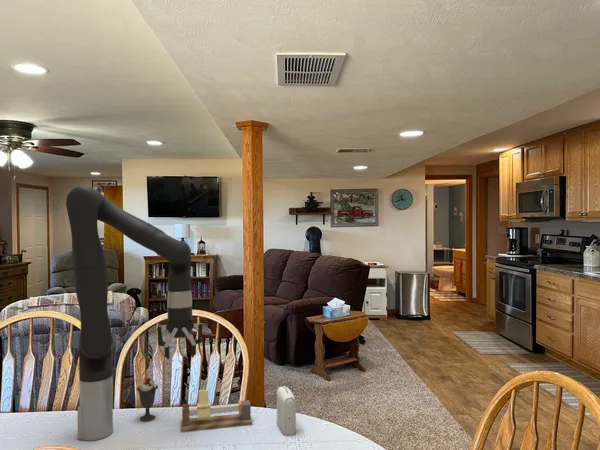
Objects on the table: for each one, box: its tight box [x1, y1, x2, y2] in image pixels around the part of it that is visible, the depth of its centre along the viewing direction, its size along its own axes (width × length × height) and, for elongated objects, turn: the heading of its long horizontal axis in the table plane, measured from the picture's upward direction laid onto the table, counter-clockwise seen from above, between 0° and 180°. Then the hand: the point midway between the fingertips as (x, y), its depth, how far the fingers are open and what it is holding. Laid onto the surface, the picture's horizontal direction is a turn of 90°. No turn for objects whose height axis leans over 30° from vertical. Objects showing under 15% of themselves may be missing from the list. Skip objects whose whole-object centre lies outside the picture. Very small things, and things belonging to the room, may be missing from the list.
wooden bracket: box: [180, 403, 253, 433], centre depth 142 cm, size 22×7×6 cm, turn 103°
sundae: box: [136, 374, 159, 422], centre depth 147 cm, size 7×7×15 cm
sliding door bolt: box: [189, 399, 252, 420], centre depth 142 cm, size 21×4×5 cm, turn 103°
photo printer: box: [276, 385, 297, 436], centre depth 138 cm, size 10×4×12 cm, turn 17°
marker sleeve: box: [196, 389, 211, 420], centre depth 141 cm, size 4×4×8 cm
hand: (180, 357), depth 140 cm, fingers open, 7 cm apart
